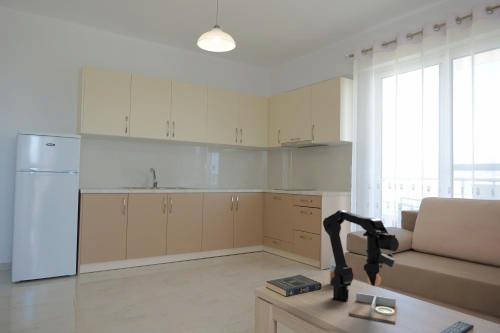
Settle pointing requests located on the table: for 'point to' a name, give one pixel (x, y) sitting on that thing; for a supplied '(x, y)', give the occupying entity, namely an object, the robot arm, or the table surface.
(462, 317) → the table surface
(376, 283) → the ball
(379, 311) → the board
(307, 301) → the table surface
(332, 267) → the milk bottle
